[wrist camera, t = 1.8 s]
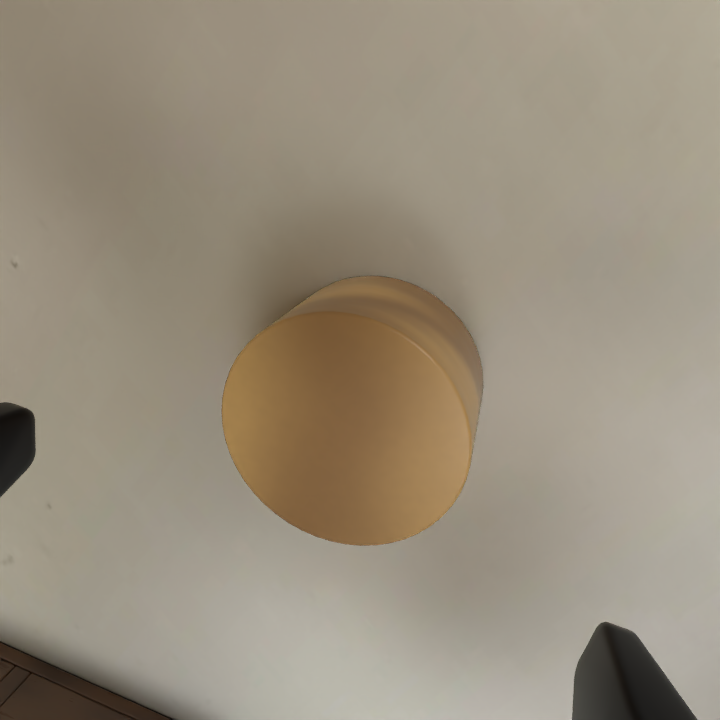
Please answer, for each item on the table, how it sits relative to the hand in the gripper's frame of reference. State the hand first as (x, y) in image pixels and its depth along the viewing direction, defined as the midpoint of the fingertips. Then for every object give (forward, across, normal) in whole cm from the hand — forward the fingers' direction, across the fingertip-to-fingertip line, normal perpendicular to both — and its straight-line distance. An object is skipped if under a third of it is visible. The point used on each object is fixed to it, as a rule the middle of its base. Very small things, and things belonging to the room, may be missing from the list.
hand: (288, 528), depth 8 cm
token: (+6, 0, 0) cm, 6 cm away
